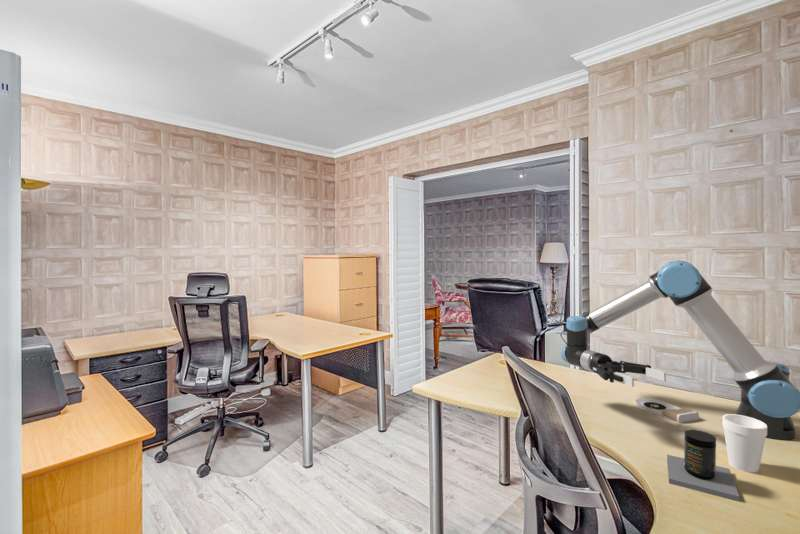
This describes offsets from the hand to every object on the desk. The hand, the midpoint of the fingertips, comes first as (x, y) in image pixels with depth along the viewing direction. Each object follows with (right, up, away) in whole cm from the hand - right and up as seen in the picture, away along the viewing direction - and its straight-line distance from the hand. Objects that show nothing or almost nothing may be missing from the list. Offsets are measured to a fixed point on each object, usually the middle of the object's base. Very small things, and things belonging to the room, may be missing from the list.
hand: (649, 379), depth 121 cm
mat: (+1, -21, -19) cm, 28 cm away
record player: (+21, -20, +24) cm, 37 cm away
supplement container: (+1, -20, -19) cm, 28 cm away
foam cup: (+17, -21, -14) cm, 30 cm away
